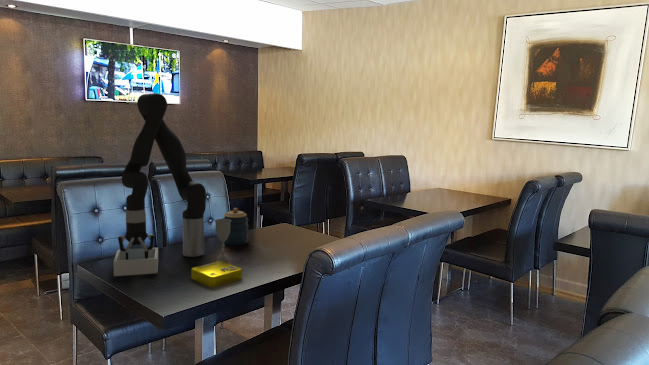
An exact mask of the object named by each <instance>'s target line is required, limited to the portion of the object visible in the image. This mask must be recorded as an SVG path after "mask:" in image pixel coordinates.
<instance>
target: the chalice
mask: <svg viewBox="0 0 649 365" xmlns="http://www.w3.org/2000/svg"><path fill="white" fill-rule="evenodd" d="M214 222H215V233H216V237H217V238H218V240H219V241H220V242H221V249H220V250H221V254H220V255H219V256H218V257H217V260H216V262H217V261H223V262H226V263H228V262H229V257H228V255H227V254H225V250H226V249H225V246H226V244H224V241H226V240H227V238H228V236H229V233H230V222H231V220H230V219H223V218H219V219H214Z"/></svg>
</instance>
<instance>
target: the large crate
mask: <svg viewBox="0 0 649 365" xmlns="http://www.w3.org/2000/svg"><path fill="white" fill-rule="evenodd" d="M112 263H113V277H123V276H124V277H125V276H135V275H136V276H137V275H139V276H140V275H149V274H150V275H151V274H158V271H159V270H158V269H159V247H153V248H152V250H149V251H148V259H133V260H126V253H125V252H124V251H120V249H117V250H116V254H115V257H114V260H113V262H112Z"/></svg>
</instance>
